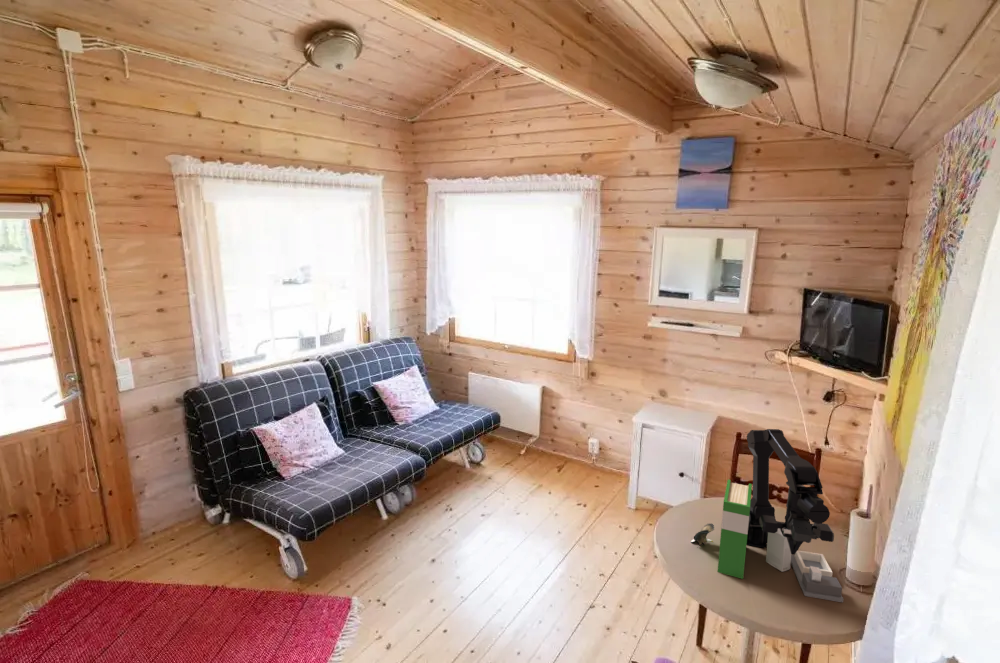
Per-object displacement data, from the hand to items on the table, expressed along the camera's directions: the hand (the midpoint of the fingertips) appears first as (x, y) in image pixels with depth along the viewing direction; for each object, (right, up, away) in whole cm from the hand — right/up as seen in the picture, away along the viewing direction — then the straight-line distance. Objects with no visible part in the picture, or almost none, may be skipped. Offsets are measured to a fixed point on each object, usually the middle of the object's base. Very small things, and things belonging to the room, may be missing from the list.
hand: (792, 553), depth 157 cm
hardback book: (-12, -9, +15) cm, 21 cm away
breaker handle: (+6, -7, -1) cm, 9 cm away
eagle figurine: (-19, -8, +21) cm, 30 cm away
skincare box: (+2, -9, +12) cm, 16 cm away
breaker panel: (+10, -10, +6) cm, 16 cm away
